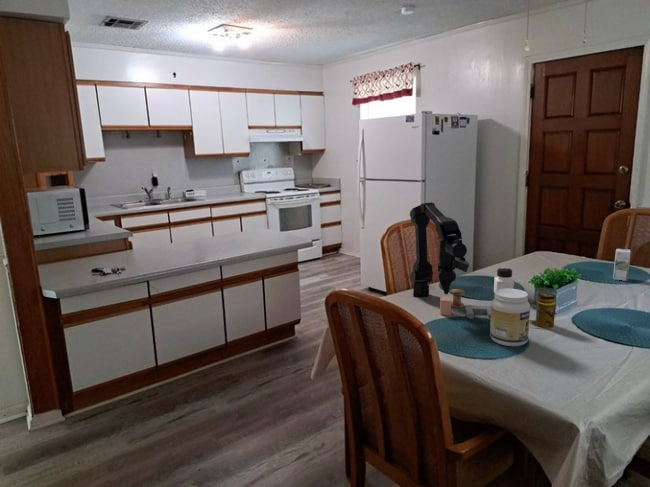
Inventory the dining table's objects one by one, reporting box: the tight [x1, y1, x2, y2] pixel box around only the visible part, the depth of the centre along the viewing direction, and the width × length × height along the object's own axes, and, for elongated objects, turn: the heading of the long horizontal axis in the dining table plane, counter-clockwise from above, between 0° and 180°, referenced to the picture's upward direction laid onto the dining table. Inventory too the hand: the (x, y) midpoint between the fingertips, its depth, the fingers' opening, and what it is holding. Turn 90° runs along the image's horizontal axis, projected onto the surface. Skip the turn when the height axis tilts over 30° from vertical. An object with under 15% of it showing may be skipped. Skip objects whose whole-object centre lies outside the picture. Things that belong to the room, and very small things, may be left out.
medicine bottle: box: [493, 267, 515, 294], centre depth 198 cm, size 7×7×12 cm
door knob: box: [449, 288, 466, 309], centre depth 187 cm, size 6×6×6 cm
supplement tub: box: [489, 288, 531, 347], centre depth 152 cm, size 12×12×17 cm
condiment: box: [529, 292, 557, 331], centre depth 164 cm, size 7×8×12 cm
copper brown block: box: [439, 296, 452, 316], centre depth 180 cm, size 4×4×6 cm
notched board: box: [464, 304, 491, 321], centre depth 177 cm, size 10×10×2 cm
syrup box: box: [612, 248, 631, 282], centre depth 213 cm, size 6×6×14 cm
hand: (445, 290), depth 178 cm, fingers open, 9 cm apart
